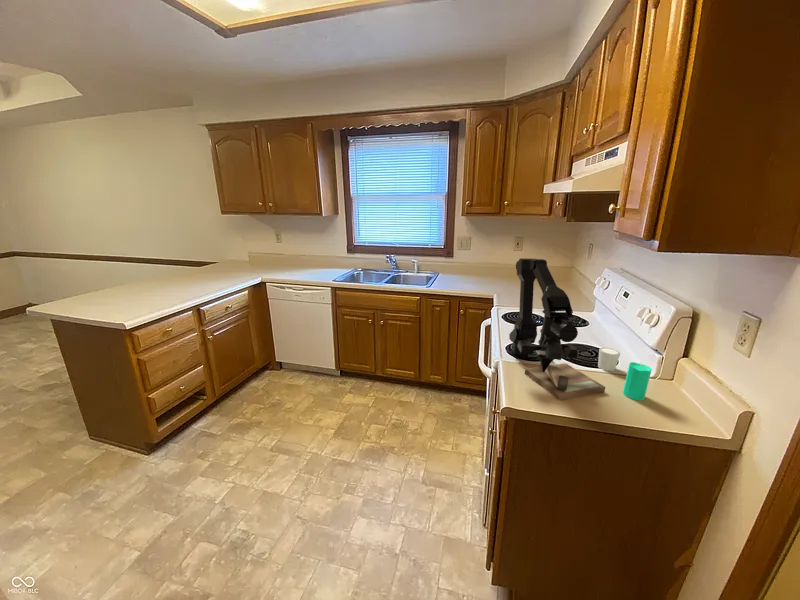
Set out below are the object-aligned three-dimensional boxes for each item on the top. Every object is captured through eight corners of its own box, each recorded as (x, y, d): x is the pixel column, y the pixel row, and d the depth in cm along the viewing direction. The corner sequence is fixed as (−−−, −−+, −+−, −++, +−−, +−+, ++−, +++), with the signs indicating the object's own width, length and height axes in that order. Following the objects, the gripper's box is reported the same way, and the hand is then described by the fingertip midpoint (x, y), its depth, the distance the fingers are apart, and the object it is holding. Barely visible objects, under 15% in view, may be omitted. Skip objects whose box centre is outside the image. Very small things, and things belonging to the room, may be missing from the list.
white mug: (619, 372, 129) (623, 355, 128) (599, 370, 131) (603, 353, 129) (612, 364, 136) (616, 348, 134) (593, 362, 137) (596, 346, 135)
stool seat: (524, 373, 127) (525, 368, 126) (564, 367, 132) (565, 362, 132) (560, 400, 110) (561, 394, 110) (604, 392, 116) (605, 386, 115)
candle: (618, 392, 116) (626, 359, 113) (630, 389, 118) (638, 356, 115) (636, 401, 111) (644, 367, 107) (648, 398, 113) (657, 364, 110)
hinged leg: (568, 390, 111) (570, 379, 110) (559, 390, 112) (560, 379, 110) (550, 368, 126) (552, 359, 125) (542, 368, 126) (544, 358, 125)
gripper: (529, 336, 110) (521, 380, 114) (590, 341, 109) (579, 386, 113) (520, 324, 120) (513, 365, 125) (576, 328, 119) (567, 369, 124)
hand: (543, 371), depth 121 cm, fingers closed
